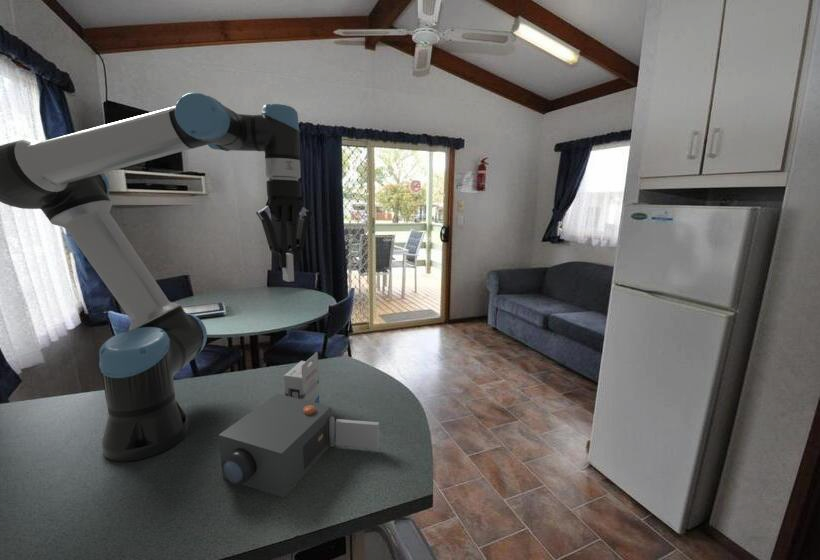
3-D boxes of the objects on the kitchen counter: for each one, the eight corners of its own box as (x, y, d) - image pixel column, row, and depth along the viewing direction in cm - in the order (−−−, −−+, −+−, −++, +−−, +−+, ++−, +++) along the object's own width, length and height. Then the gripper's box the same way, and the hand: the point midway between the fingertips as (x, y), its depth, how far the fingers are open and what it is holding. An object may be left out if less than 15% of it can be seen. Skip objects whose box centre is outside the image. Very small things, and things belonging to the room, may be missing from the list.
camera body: (210, 487, 67) (205, 439, 65) (278, 429, 85) (276, 390, 82) (279, 511, 62) (276, 461, 60) (337, 445, 80) (336, 403, 78)
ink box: (302, 401, 96) (300, 348, 93) (320, 404, 95) (318, 350, 92) (285, 420, 88) (282, 363, 85) (304, 423, 87) (302, 365, 84)
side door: (335, 445, 78) (335, 421, 77) (338, 440, 80) (337, 417, 79) (377, 448, 77) (378, 425, 76) (379, 443, 79) (379, 420, 78)
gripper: (263, 177, 77) (269, 287, 82) (317, 180, 86) (320, 279, 91) (248, 178, 82) (255, 281, 87) (301, 181, 91) (304, 274, 96)
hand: (288, 280), depth 89 cm, fingers closed
